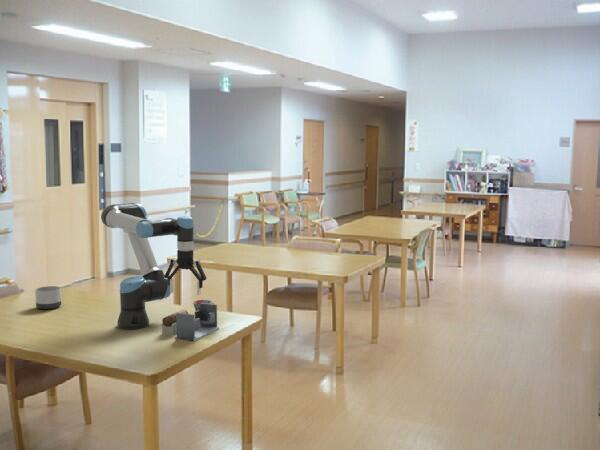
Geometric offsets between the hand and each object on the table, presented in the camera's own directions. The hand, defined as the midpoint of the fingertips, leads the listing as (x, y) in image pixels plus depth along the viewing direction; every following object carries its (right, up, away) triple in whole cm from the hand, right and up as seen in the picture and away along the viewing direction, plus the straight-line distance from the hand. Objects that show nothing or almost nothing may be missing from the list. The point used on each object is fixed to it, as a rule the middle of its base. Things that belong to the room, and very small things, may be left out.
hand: (185, 293), depth 299 cm
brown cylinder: (-5, -14, +1) cm, 15 cm away
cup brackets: (+6, -18, -3) cm, 20 cm away
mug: (+7, -16, +16) cm, 24 cm away
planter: (-82, -13, +44) cm, 94 cm away
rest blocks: (-5, -18, +1) cm, 18 cm away
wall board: (+6, -18, -3) cm, 20 cm away
